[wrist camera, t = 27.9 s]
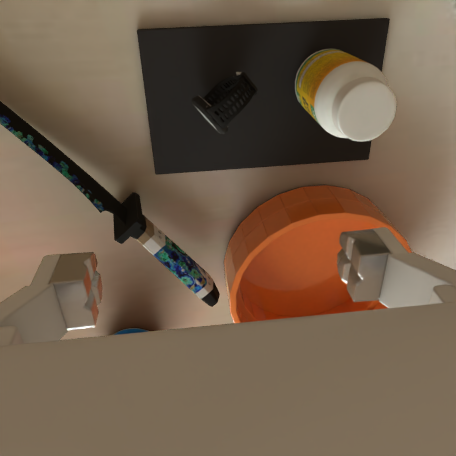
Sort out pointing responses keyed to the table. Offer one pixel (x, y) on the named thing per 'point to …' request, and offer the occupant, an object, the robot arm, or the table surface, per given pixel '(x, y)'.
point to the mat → (259, 104)
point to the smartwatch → (225, 101)
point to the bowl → (297, 254)
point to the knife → (117, 210)
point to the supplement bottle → (345, 95)
